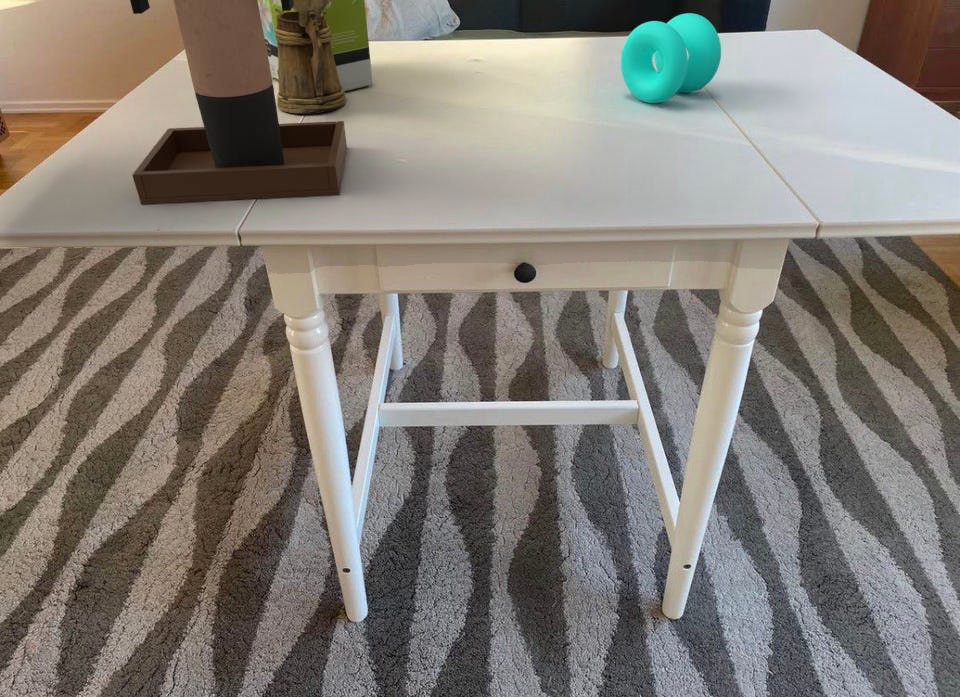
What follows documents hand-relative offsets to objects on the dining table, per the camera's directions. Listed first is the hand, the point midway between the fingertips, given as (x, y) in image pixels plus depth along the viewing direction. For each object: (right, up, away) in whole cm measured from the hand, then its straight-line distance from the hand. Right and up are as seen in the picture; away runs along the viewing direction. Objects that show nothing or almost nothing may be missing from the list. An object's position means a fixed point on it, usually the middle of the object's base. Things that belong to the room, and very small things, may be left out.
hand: (215, 9), depth 69 cm
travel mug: (0, -13, +9) cm, 16 cm away
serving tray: (0, -13, +9) cm, 16 cm away
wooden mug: (+3, -1, +27) cm, 28 cm away
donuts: (+50, +2, +30) cm, 59 cm away
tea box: (+1, +7, +38) cm, 38 cm away
